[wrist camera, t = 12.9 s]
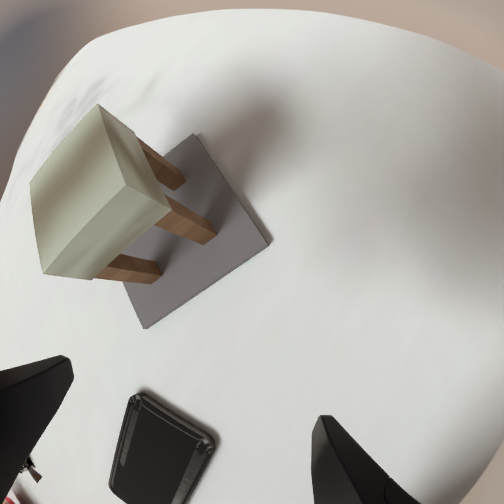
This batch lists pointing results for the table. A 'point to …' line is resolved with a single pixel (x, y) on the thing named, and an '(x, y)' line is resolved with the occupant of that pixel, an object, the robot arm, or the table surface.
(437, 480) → the table surface
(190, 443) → the phone
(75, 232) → the stool
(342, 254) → the table surface
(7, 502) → the ornament
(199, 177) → the mat
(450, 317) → the table surface
